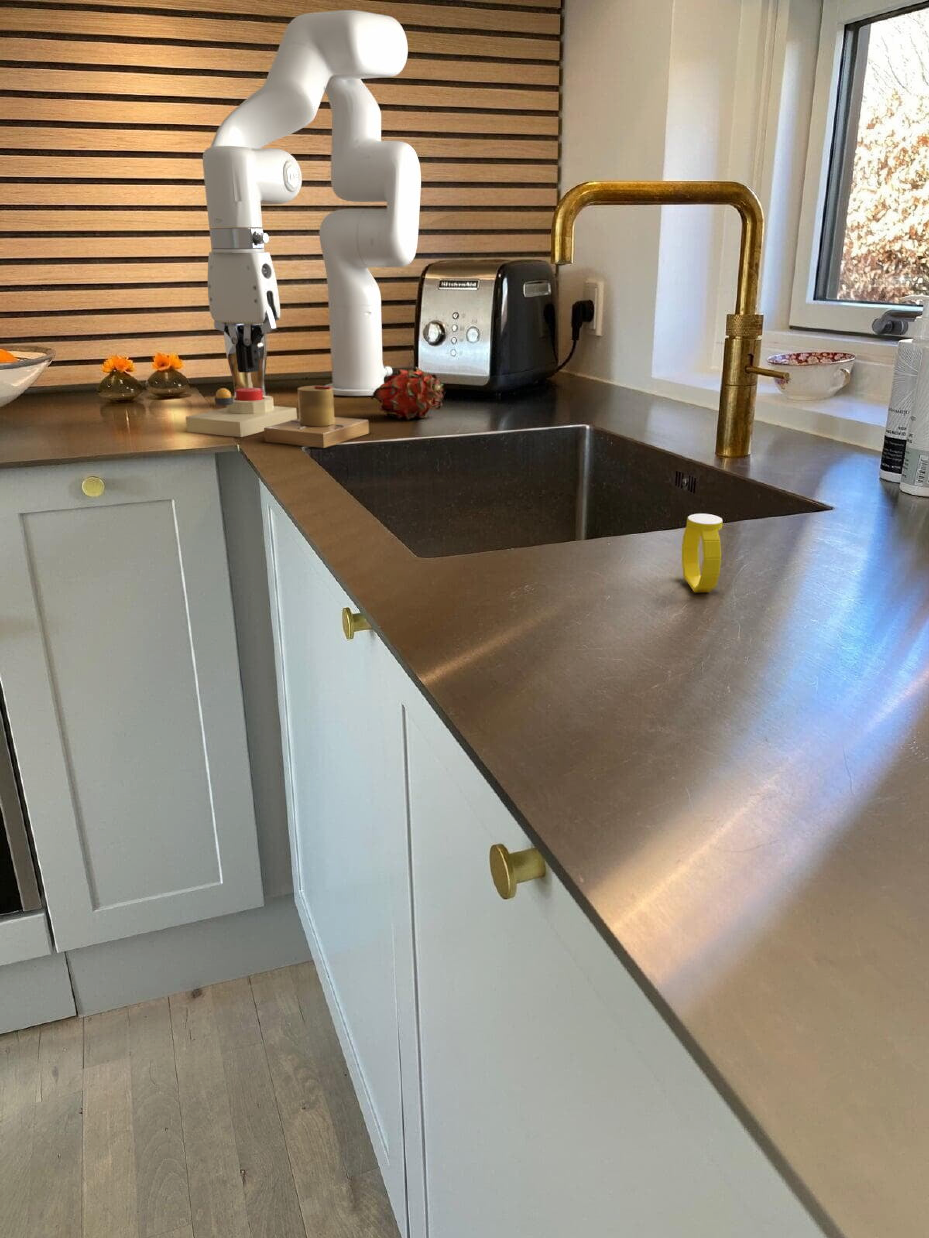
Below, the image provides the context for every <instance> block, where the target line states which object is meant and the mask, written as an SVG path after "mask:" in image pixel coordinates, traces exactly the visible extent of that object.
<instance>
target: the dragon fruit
mask: <svg viewBox="0 0 929 1238" xmlns="http://www.w3.org/2000/svg"><path fill="white" fill-rule="evenodd" d="M414 369H415V371H413V369H409V370H407V369H400V368H399V369H397V370H396V372H397V374H394V375H393V374H392V375H391V376H388V377H387V379H386V381H385V382H384V384H382V385H381V386H380V387H379V388H377V389H376V390H375V391H374V392H373V395H372V396H370V399H371V401H373V400H374V399H376V401H378V402H380V403H381V404H379V407H378V408H379V411H380V412H383V413H385V414H386V416H388V417H393V418H396V419H397V418H398V419H400V418H404V417H405V418H406V420H407V421H410V420H411V419H412V418H415V417H416V416H417V418H420V419H425V418H427V417H428V412H429V411H430V410H434V411H437V410H440V409H441V407H443V402H442V401H443V399H444V396H445V394H446V392H447V391H446V389H445V388H444V384H443V383H442V382H441V381H440V380H439V379H438V377H437V375H436V374H435V373H430V372H428V371H423V370H422V369H421V368H419V367H417V366H415V367H414Z"/></svg>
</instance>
